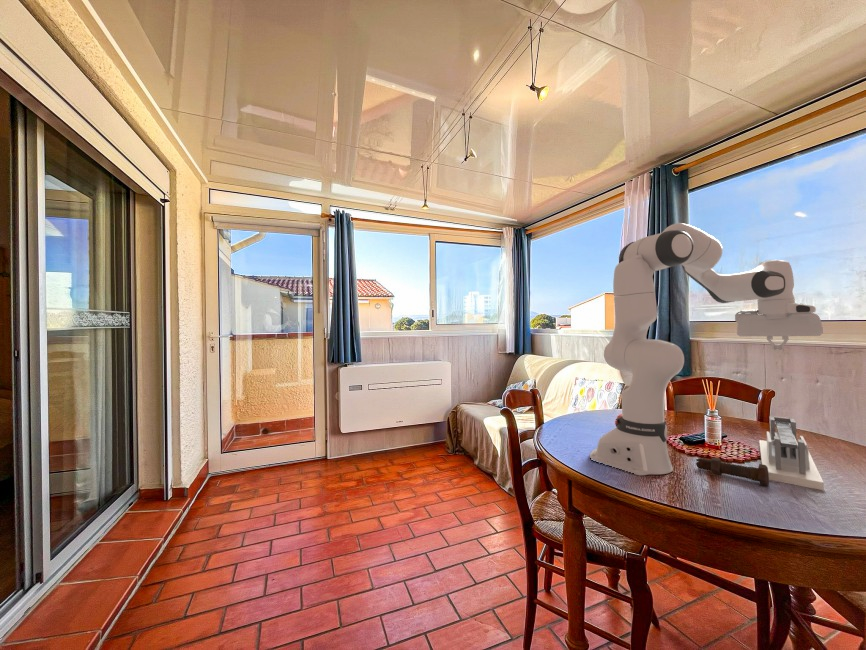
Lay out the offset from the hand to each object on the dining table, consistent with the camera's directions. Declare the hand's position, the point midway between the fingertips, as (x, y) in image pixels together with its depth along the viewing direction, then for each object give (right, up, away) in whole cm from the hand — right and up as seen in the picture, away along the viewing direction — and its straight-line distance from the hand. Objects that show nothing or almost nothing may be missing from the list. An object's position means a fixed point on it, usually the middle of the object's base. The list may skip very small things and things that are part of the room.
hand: (777, 349), depth 114 cm
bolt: (-32, -35, -19) cm, 51 cm away
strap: (-11, -25, -13) cm, 30 cm away
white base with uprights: (-10, -33, -13) cm, 37 cm away
